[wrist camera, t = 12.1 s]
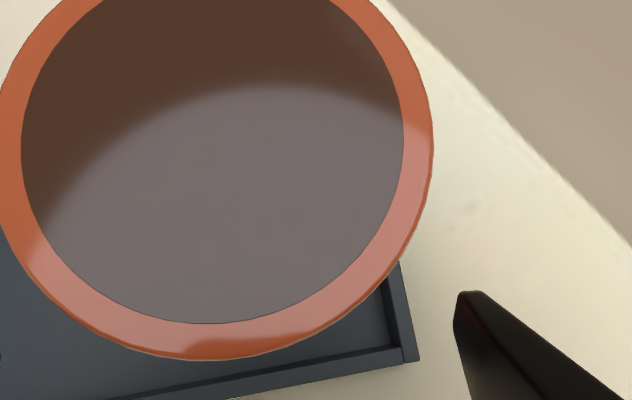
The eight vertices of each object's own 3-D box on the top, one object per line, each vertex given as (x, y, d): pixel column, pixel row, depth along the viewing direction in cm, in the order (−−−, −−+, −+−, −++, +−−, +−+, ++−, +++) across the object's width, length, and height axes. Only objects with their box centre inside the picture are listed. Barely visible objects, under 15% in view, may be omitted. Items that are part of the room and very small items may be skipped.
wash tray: (-95, 453, 18) (-150, 473, 16) (-94, 167, 20) (-141, 149, 18) (406, 355, 20) (420, 360, 17) (352, 101, 22) (359, 78, 20)
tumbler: (284, 364, 19) (272, 466, 6) (144, 266, 19) (-117, 184, 7) (377, 222, 20) (512, 79, 8) (244, 134, 21) (174, -127, 8)
